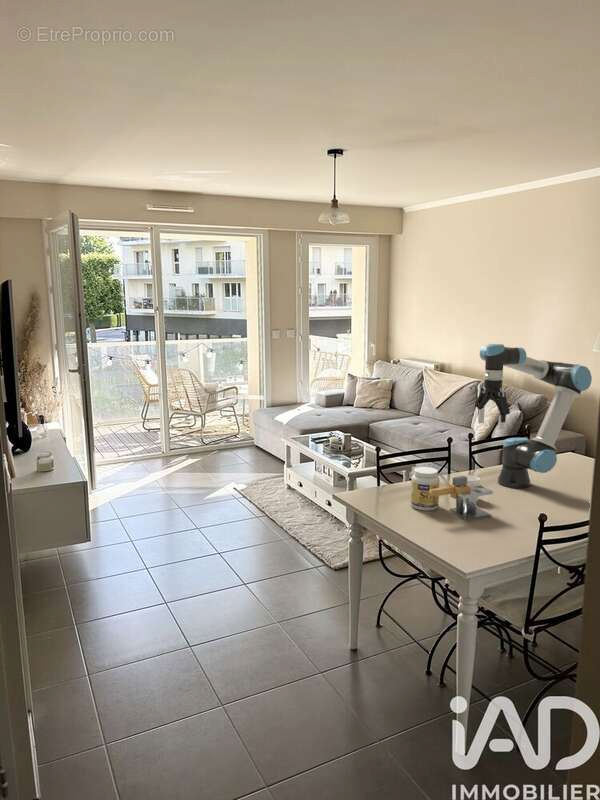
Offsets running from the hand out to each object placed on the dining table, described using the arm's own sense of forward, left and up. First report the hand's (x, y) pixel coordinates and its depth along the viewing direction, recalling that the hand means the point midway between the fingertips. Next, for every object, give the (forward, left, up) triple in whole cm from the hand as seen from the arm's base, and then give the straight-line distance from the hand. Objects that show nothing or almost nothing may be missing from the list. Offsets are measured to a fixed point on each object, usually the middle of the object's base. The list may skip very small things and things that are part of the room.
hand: (490, 426), depth 265 cm
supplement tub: (+31, -4, -35) cm, 47 cm away
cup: (+7, -6, -35) cm, 36 cm away
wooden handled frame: (+29, +11, -26) cm, 41 cm away
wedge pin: (+24, +11, -34) cm, 43 cm away
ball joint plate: (+19, +11, -35) cm, 41 cm away
